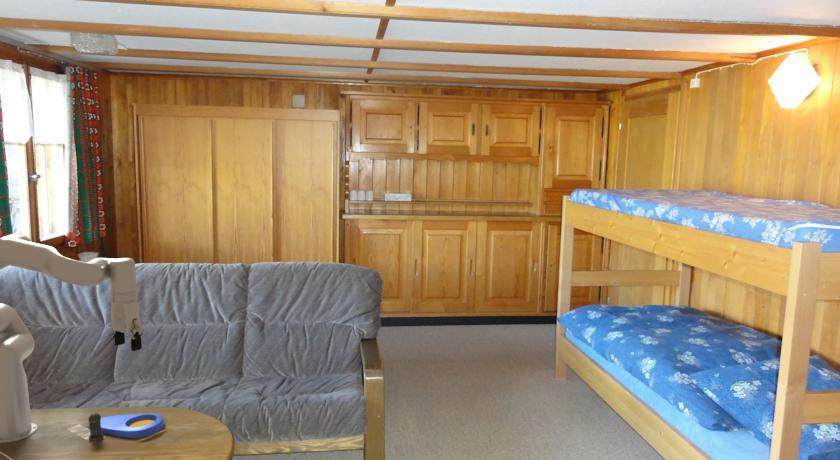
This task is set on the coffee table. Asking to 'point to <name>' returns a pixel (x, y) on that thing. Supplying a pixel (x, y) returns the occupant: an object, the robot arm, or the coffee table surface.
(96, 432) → the pawn
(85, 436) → the board
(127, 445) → the coffee table surface
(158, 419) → the location marker
